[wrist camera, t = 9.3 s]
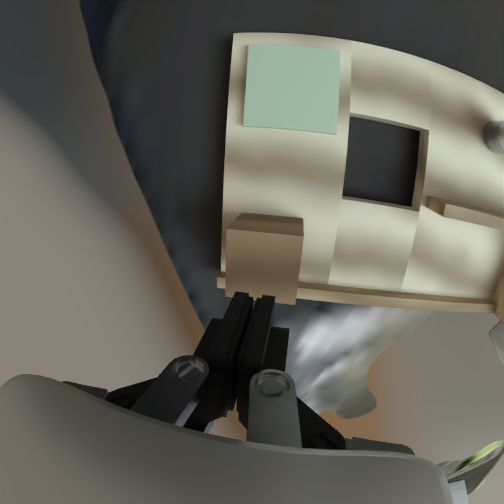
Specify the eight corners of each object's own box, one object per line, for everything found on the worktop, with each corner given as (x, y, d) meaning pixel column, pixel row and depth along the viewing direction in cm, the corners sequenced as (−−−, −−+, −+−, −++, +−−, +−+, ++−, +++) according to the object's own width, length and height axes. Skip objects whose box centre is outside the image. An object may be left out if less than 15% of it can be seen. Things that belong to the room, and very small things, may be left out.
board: (238, 41, 19) (222, 16, 14) (519, 110, 15) (550, 109, 10) (226, 272, 27) (209, 300, 22) (486, 299, 23) (509, 324, 18)
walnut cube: (241, 212, 23) (226, 228, 18) (303, 218, 22) (303, 236, 18) (239, 268, 25) (225, 296, 20) (296, 274, 24) (295, 304, 19)
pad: (250, 47, 18) (248, 44, 17) (338, 54, 17) (340, 50, 16) (245, 127, 20) (243, 125, 20) (335, 135, 20) (336, 134, 19)
